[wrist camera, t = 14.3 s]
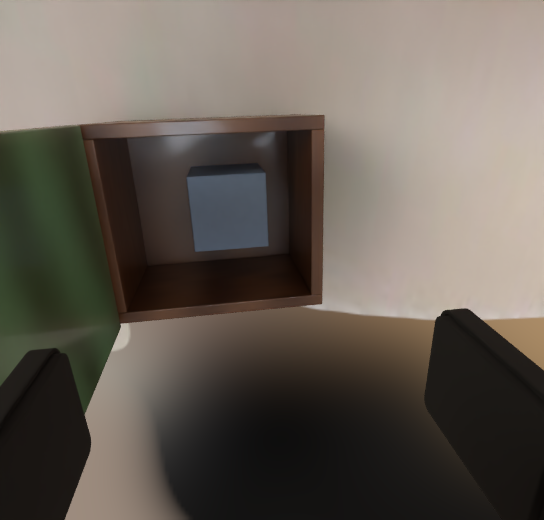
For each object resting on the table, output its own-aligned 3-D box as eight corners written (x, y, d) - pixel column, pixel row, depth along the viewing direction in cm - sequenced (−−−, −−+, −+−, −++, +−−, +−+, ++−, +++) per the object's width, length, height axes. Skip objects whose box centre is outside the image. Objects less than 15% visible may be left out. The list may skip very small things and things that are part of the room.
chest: (294, 114, 31) (324, 114, 23) (296, 258, 36) (322, 304, 27) (115, 121, 30) (75, 124, 21) (141, 271, 34) (116, 324, 26)
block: (257, 163, 32) (265, 172, 27) (260, 226, 34) (268, 246, 29) (191, 166, 31) (186, 177, 26) (197, 231, 33) (194, 252, 28)
